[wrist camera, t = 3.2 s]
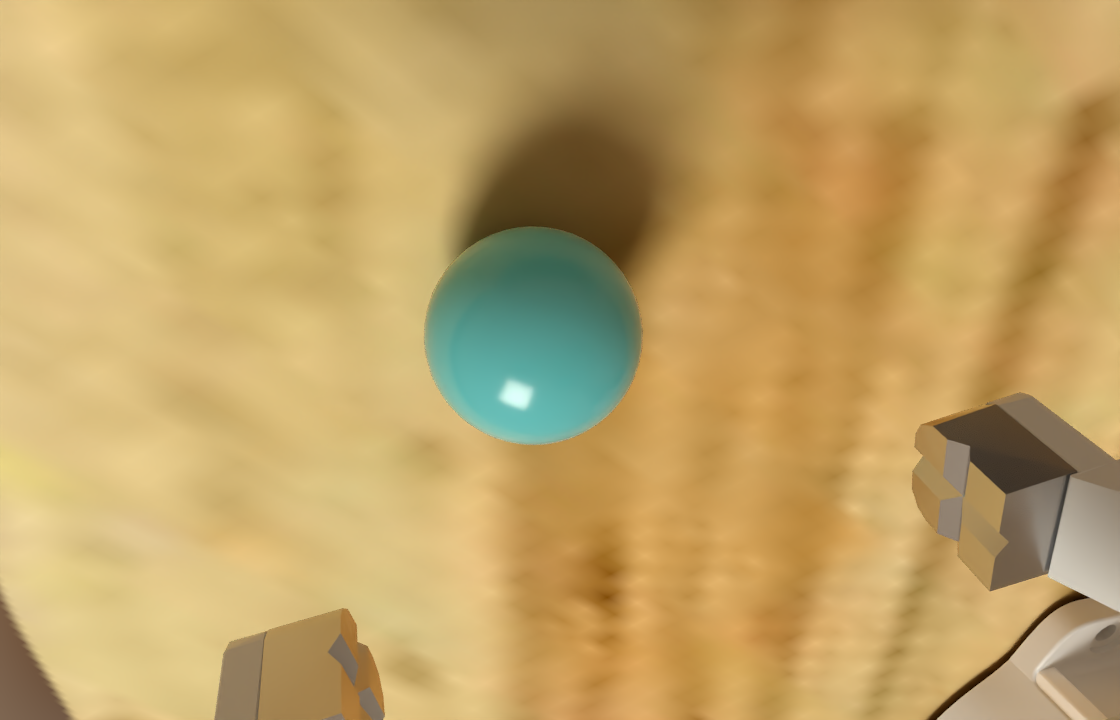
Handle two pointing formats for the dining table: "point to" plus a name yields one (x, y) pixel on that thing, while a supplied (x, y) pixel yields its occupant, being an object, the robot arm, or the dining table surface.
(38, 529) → the dining table surface
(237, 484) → the dining table surface
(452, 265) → the bead
